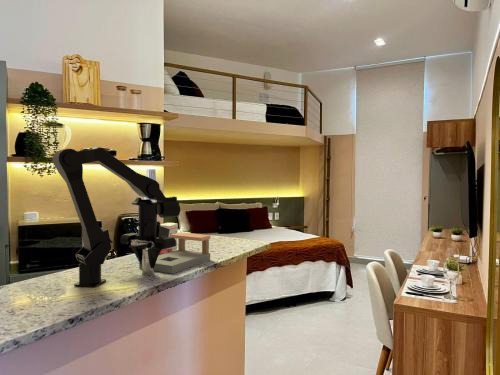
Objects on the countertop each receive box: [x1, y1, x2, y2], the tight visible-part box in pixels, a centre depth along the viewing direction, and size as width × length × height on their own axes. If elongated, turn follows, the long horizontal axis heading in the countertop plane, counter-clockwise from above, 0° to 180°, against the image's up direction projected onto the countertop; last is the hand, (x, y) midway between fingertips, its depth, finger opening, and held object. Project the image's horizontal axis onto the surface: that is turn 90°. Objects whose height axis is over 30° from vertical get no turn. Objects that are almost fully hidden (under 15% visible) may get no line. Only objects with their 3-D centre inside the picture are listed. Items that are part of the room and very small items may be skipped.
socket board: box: [138, 232, 211, 274], centre depth 133 cm, size 22×14×9 cm, turn 152°
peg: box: [141, 247, 155, 276], centre depth 119 cm, size 4×4×8 cm
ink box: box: [159, 222, 179, 255], centre depth 150 cm, size 9×5×12 cm, turn 168°
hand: (147, 267), depth 119 cm, fingers closed on peg, 4 cm apart
